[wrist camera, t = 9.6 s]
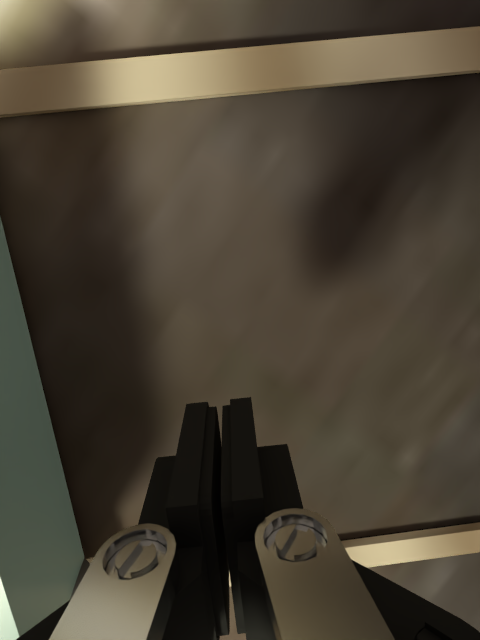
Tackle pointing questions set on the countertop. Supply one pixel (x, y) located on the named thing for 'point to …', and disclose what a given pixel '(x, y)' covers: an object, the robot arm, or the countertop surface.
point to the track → (251, 78)
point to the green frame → (30, 481)
